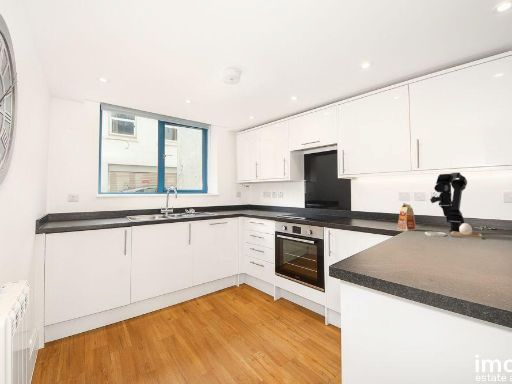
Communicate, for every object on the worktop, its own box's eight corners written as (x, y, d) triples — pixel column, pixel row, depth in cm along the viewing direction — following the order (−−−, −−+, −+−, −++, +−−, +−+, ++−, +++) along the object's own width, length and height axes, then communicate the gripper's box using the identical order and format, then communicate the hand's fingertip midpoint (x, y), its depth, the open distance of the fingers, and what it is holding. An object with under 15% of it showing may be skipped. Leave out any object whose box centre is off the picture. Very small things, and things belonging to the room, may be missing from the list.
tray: (452, 234, 159) (451, 231, 159) (481, 236, 150) (481, 233, 150) (450, 236, 150) (450, 233, 150) (481, 239, 141) (481, 235, 141)
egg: (462, 234, 154) (462, 222, 154) (474, 235, 149) (474, 223, 149) (457, 235, 151) (457, 222, 151) (469, 236, 146) (469, 223, 146)
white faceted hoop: (426, 233, 164) (426, 231, 165) (446, 234, 157) (446, 232, 157) (424, 235, 157) (424, 232, 157) (444, 236, 150) (444, 234, 150)
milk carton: (407, 230, 177) (406, 203, 177) (396, 229, 186) (396, 202, 186) (416, 230, 179) (416, 203, 180) (406, 228, 188) (405, 202, 188)
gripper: (432, 192, 175) (433, 214, 174) (429, 192, 161) (429, 216, 160) (452, 192, 167) (452, 215, 167) (450, 192, 153) (450, 216, 153)
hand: (446, 215), depth 162 cm, fingers open, 9 cm apart
